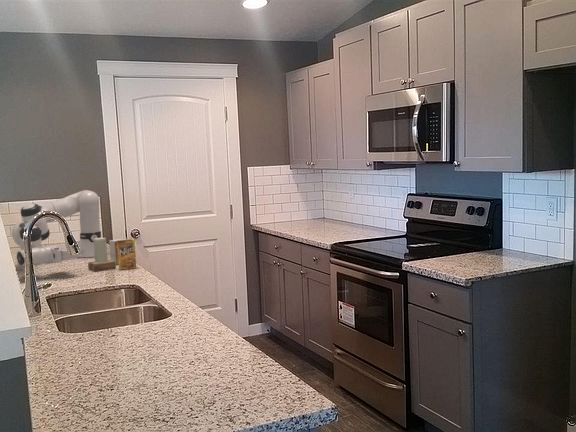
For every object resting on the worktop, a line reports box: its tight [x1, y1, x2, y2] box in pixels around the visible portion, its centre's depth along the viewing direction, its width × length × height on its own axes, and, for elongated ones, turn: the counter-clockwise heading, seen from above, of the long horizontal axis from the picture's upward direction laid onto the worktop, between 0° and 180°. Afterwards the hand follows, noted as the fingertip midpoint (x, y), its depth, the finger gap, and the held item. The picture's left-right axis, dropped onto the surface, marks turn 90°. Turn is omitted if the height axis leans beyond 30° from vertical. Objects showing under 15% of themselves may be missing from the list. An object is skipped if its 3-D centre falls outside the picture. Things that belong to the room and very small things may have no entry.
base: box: [87, 258, 117, 273], centre depth 309 cm, size 10×11×4 cm
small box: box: [108, 238, 123, 266], centre depth 323 cm, size 8×6×13 cm
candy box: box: [117, 238, 137, 271], centre depth 306 cm, size 9×4×15 cm, turn 107°
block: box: [93, 237, 108, 263], centre depth 308 cm, size 5×5×12 cm
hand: (81, 250), depth 302 cm, fingers open, 8 cm apart
